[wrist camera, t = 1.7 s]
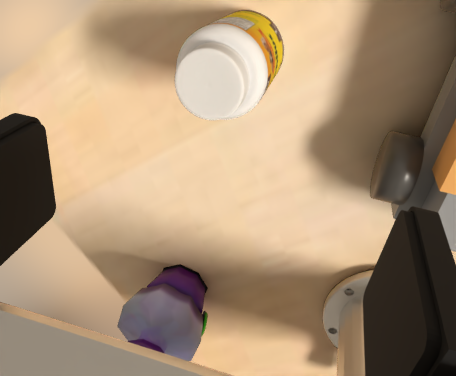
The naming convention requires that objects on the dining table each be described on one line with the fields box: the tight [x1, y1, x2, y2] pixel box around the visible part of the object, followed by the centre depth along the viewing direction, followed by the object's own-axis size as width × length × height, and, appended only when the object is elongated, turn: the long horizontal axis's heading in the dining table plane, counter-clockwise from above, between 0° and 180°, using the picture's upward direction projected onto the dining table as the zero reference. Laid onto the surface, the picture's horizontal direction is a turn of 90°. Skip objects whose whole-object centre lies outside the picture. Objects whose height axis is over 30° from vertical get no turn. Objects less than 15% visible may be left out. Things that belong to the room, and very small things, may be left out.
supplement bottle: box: [175, 10, 284, 120], centre depth 26 cm, size 6×6×10 cm
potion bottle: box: [118, 265, 208, 361], centre depth 40 cm, size 9×9×12 cm
